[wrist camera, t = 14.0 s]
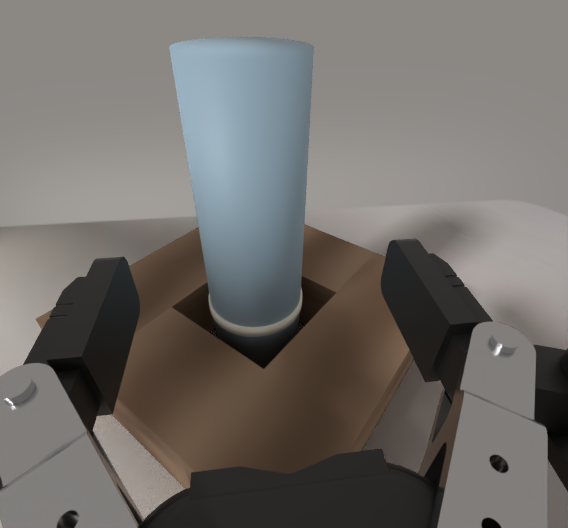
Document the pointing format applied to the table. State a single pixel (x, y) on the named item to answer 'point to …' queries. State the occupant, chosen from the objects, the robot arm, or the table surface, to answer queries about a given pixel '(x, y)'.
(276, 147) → the peg
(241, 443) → the socket block
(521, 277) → the table surface
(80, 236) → the table surface
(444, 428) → the robot arm
